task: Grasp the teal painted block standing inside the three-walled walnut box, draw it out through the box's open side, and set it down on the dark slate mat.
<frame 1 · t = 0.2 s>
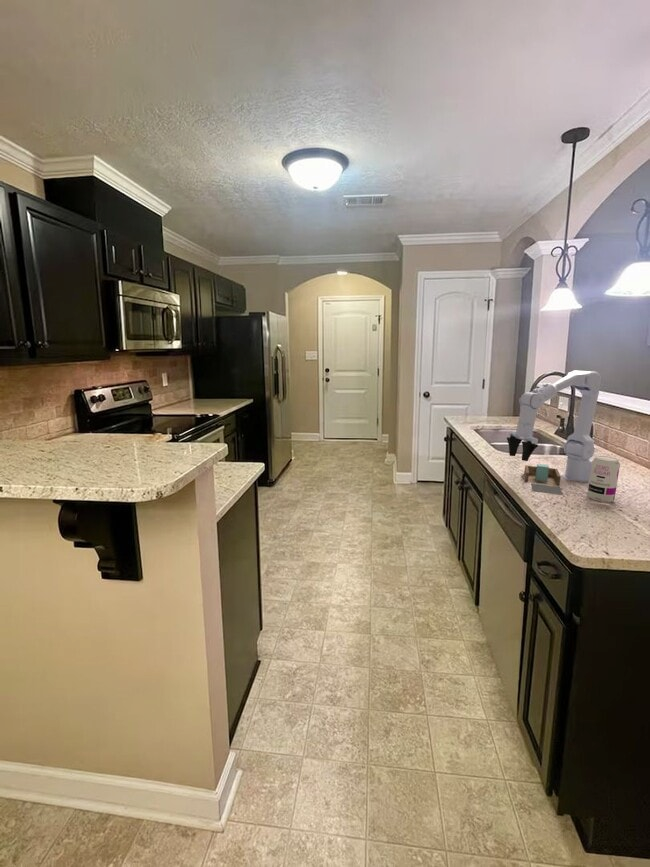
hand: (518, 458, 165), 11 cm above the worktop, tool pointing down, fingers open, 7 cm apart
supplement can: (600, 499, 152), on the worktop
slate mat: (546, 490, 161), on the worktop
walnut box: (540, 480, 173), on the worktop
block: (541, 479, 172), resting on walnut box
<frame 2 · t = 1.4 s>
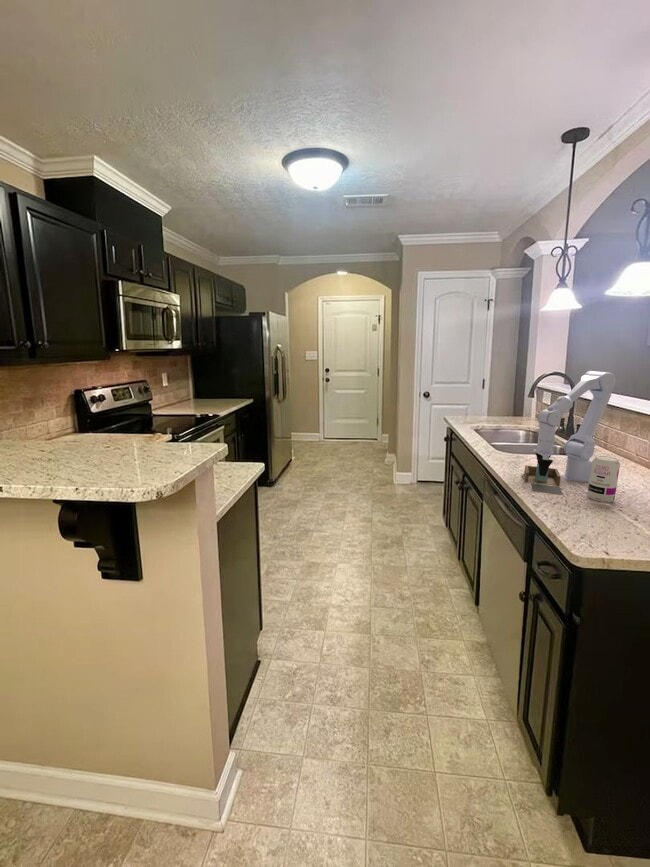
hand: (541, 473, 172), 3 cm above the worktop, tool pointing down, fingers open, 7 cm apart
nothing on the worktop moved.
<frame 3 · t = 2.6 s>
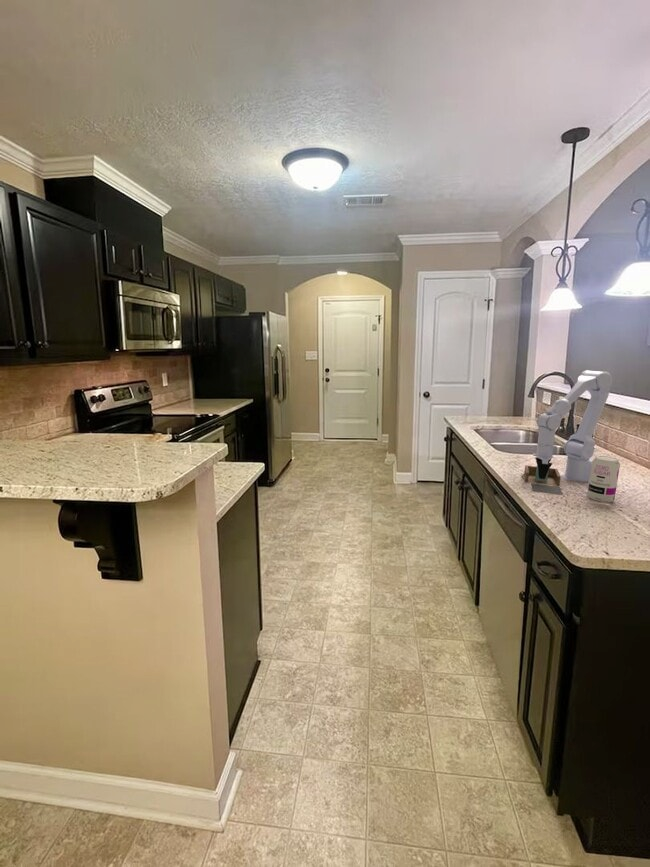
hand: (541, 477, 172), 2 cm above the worktop, tool pointing down, fingers closed on block, 4 cm apart
block: (541, 479, 172), resting on walnut box, touching gripper
everything else where it was.
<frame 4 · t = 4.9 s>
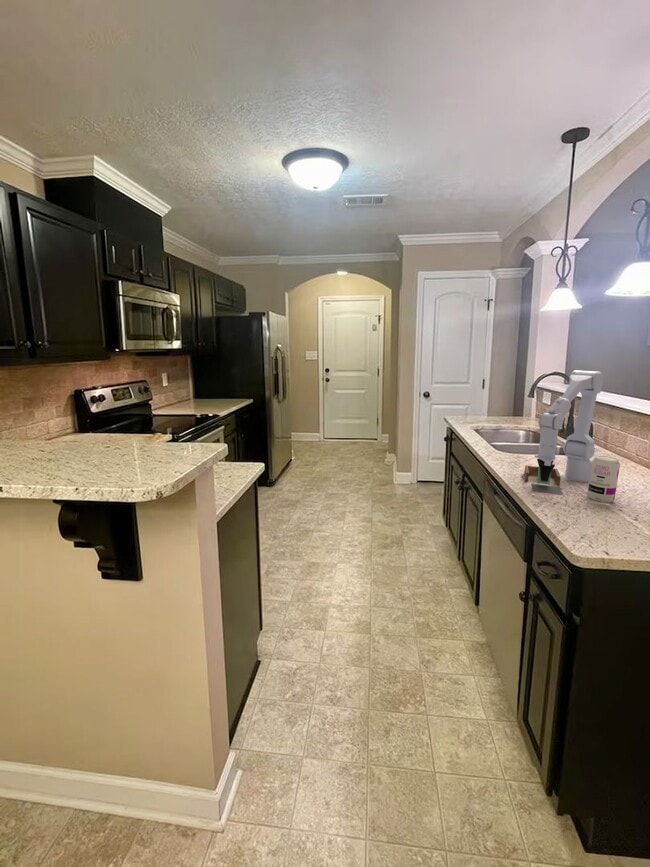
hand: (543, 479, 164), 3 cm above the worktop, tool pointing down, fingers closed on block, 4 cm apart
block: (543, 482, 165), point 2 cm above the worktop, touching gripper
everything else where it was.
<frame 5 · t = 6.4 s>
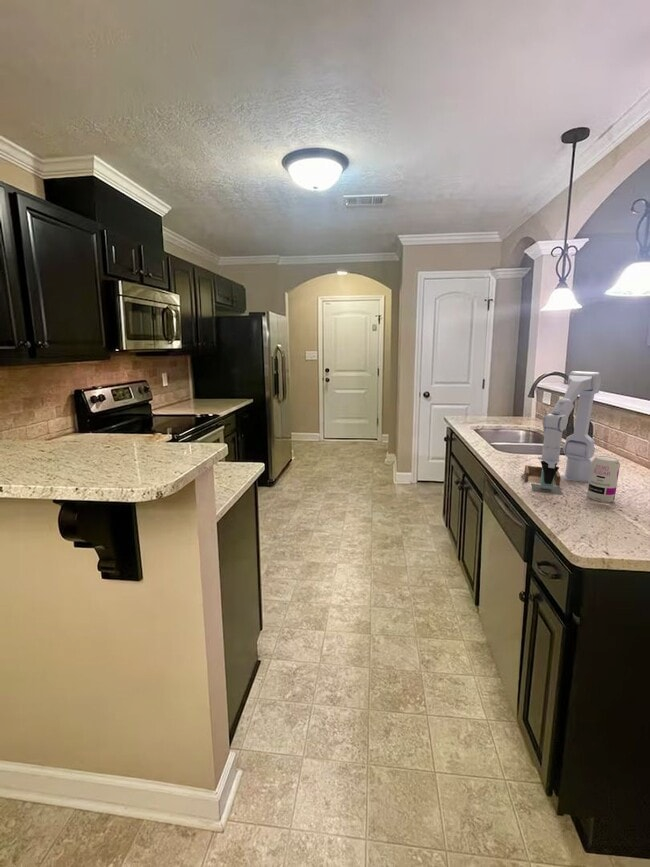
hand: (547, 481, 161), 3 cm above the worktop, tool pointing down, fingers closed on block, 4 cm apart
block: (546, 485, 161), point 2 cm above the worktop, touching gripper
everything else where it was.
when the fingers open (3 cm above the worktop, at t = 7.3 s): block stays where it is, resting on slate mat.
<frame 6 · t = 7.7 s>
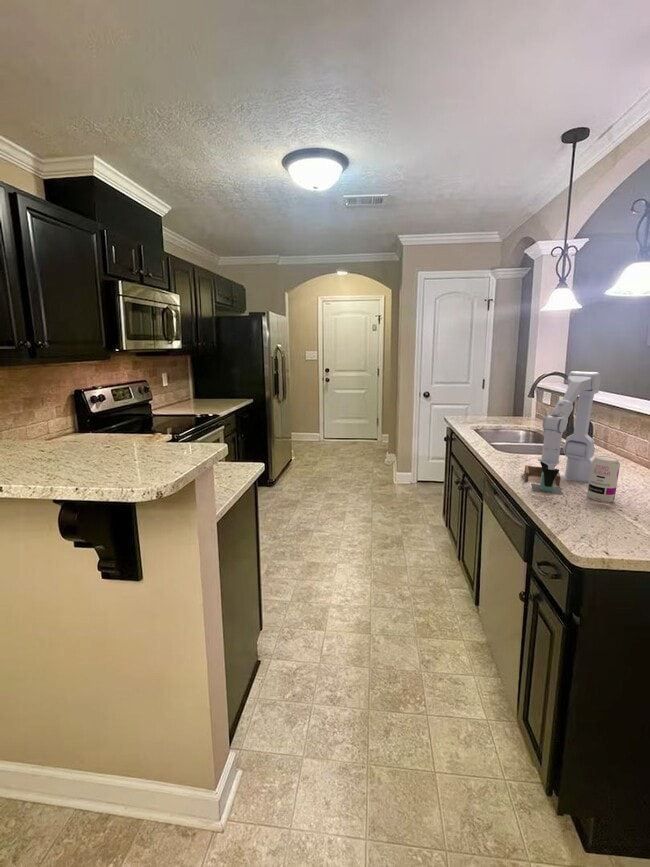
hand: (547, 483, 161), 3 cm above the worktop, tool pointing down, fingers open, 7 cm apart
block: (546, 489, 161), resting on slate mat
everything else where it was.
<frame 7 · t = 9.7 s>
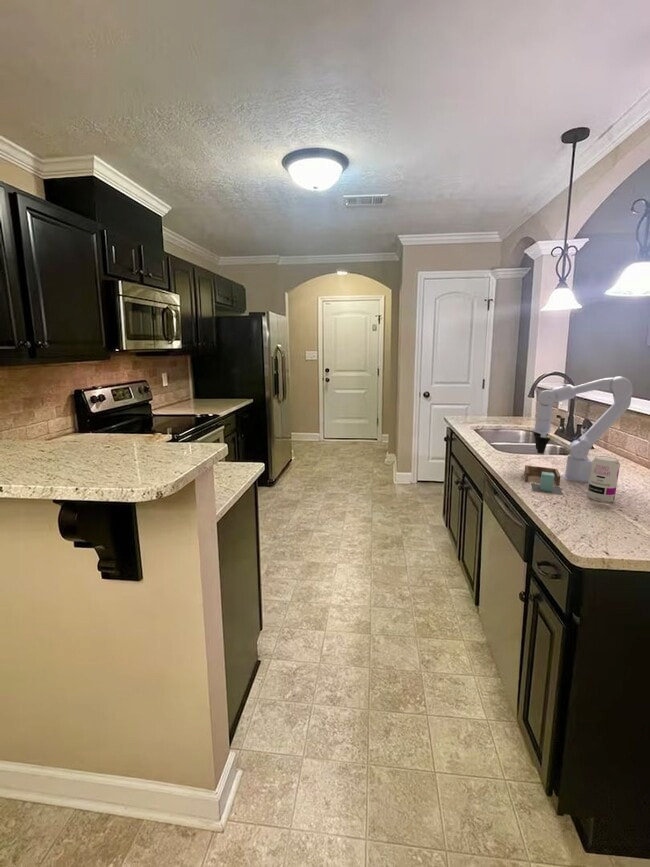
hand: (539, 451, 180), 10 cm above the worktop, tool pointing down, fingers open, 7 cm apart
nothing on the worktop moved.
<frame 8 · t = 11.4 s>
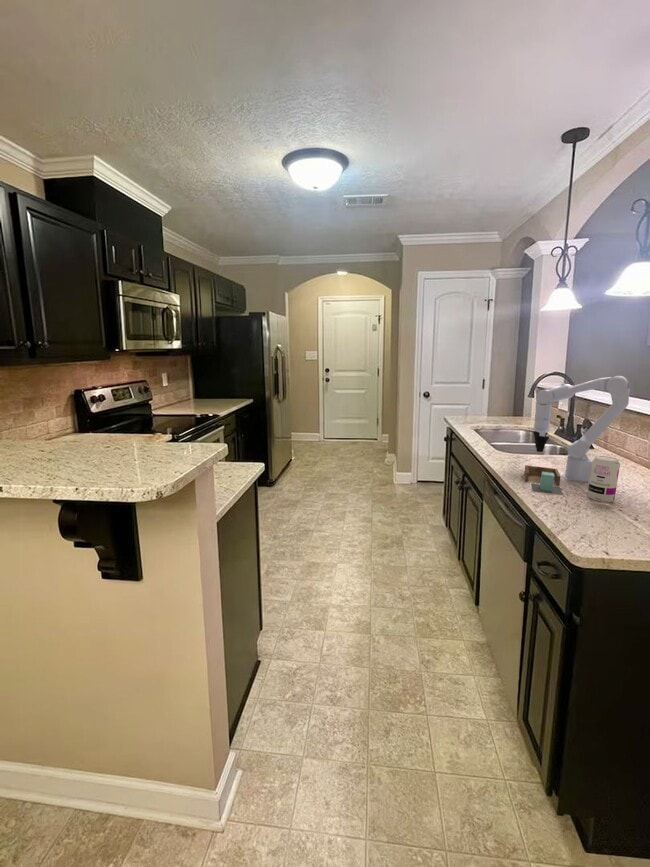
hand: (539, 449, 183), 10 cm above the worktop, tool pointing down, fingers open, 7 cm apart
nothing on the worktop moved.
at the end: block inside the target area on the slate mat (0.1 cm from its centre), point 0.4 cm above the slate mat's base; block tilted 0°; the gripper is holding nothing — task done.
